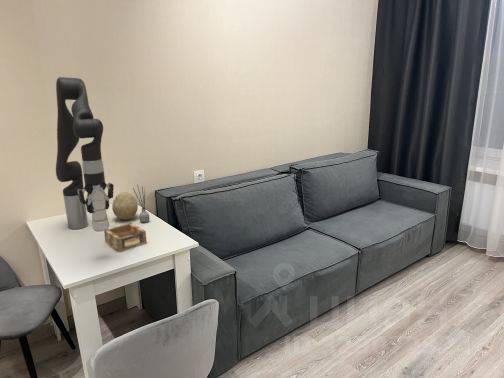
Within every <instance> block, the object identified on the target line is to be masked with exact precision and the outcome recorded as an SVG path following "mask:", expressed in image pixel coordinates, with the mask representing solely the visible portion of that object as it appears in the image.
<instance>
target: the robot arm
mask: <svg viewBox="0 0 504 378" xmlns="http://www.w3.org/2000/svg"><path fill="white" fill-rule="evenodd" d="M55 91H56V93H55V94H56V104H57V105H56V106H57V117H56V118H57V123H56V126H57V128H56V138H57V139H56V141H57V143H56V144H57V150H56V151H57V153H56V161H55V162H56V163H55V176H56V179H57V180H58V181H59V182H60V183H66V182H67V183H68V182H71V181H72V182H71V183H69V184H68V185H67V186H65V187H64V188H63V190H62V195H63V201H64V206H65V207H64V208H65V213H66V221H67V225H68V226H67V228H68V229H69V230H80V229H83V228H86V227H87V226H89V220H88V219H89V218H88V213H89V214H91V215H92V206H91V199H92V196H93V194H94V193H95V192H96V189H95V188H93V185H98V184H100V188H99V190H100V191H102V192H103V193H104V194H105V195H106V211H107V210H109V208H110V200H111V199H113V198H114V184H113V183H111V182H108V183H106V176H105V170H104V169H105V167H104V162H103V158H102V148H101V146H102V138H103V132H104V125H103V123H102V122H103V121H101V120H100V119H99V118H94V115H93V114H94V113H92V109H91V107H90V103H89V96H88V93H87V87H86V84H85V82H84V81H83V80H82V79H81V78H77V77H66V76H58V77H57V79H56V81H55ZM67 100H68V101H74V102H73V103H72V105H71V111H70V110H69V108H68V106H67V103H66V102H67ZM91 138H93V139H92V141H91V142H89V143H84V144H82V145H81V146H80V152H81V161H82V163H80V162H79V161H77V160H73V161H68V160H69V157H70V155H71V154H72V152H74V150H75V148H76V147H77V145H78V144H79V141H80V139H91ZM106 189H107V193H106V191H105V190H106ZM85 192H86V196H85ZM89 194H90V197H89ZM85 197H86V198H85Z"/></svg>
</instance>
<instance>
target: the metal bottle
mask: <svg viewBox="0 0 504 378" xmlns="http://www.w3.org/2000/svg"><path fill="white" fill-rule="evenodd" d="M93 188H95V189H96V192H95V193H94V194H93V196H92V199H91V206H92V213H91V228H92V229H93V231H94V232H99V233H100V232H104V231H105V230H107V229H110V221H109V218H108V214H107V210H106V195H105V194H104V193H103V192H102V191H100V190H99V188H100V184H98V185H93ZM89 197H90V194H89Z"/></svg>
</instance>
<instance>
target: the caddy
mask: <svg viewBox="0 0 504 378" xmlns="http://www.w3.org/2000/svg"><path fill="white" fill-rule="evenodd" d="M103 232H104V239H105V240H104V241H105V243H106V244H107V245H108V246H110V247H112V248H113V249H114V250H115V251H116V252H118V253H121V252H123V251H127V250H130V249H133V248H137V247H140V246H143V245H145V244H147V243H148V242H147V231H146V230H145V229H143V228H141V227H139V226H138V225H136V224H134V223H132V222H129V223H124V224H121V225H118V226H114V227H111V228H110V227H109V228H108V229H107V230H105V231H103Z"/></svg>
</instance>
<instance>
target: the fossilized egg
mask: <svg viewBox="0 0 504 378" xmlns="http://www.w3.org/2000/svg"><path fill="white" fill-rule="evenodd" d="M111 206H112V207H111V208H112V213H113V214H114V215H115V217H116V218H117V219H119V220H121V221H122V220H123V221H127V220H131V219H132V218H134V217H135V215H136V214H137V212H138V208H139V207H138V206H139V204H138V201H137V199H136V198H135V196H133V194H131V193H130V192H127V191H122V192H119V193H118V194H116V196H115V198H114V199H113V201H112V205H111Z"/></svg>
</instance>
